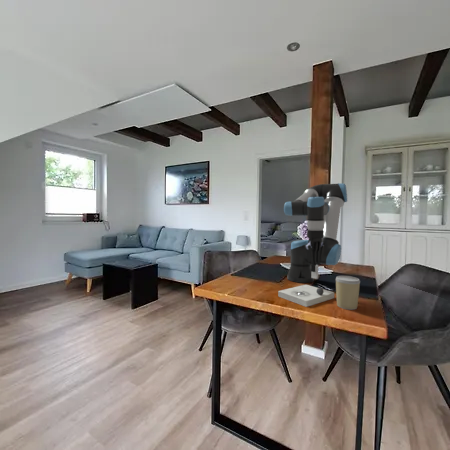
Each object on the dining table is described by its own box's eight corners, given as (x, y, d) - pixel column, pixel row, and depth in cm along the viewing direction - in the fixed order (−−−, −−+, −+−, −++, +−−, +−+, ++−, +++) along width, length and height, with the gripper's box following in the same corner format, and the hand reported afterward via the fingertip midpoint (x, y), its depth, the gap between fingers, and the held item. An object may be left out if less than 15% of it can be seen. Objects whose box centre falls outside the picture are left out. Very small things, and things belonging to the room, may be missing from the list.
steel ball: (300, 293, 119) (298, 289, 117) (306, 296, 116) (304, 292, 114) (296, 299, 117) (294, 294, 116) (302, 302, 115) (300, 297, 113)
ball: (319, 293, 117) (319, 286, 117) (324, 294, 115) (325, 288, 114) (315, 294, 115) (315, 287, 115) (320, 296, 113) (320, 289, 113)
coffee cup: (351, 302, 113) (352, 275, 112) (364, 310, 103) (365, 281, 103) (331, 302, 112) (331, 275, 112) (341, 310, 103) (342, 281, 102)
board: (305, 289, 131) (305, 284, 131) (334, 298, 118) (334, 292, 118) (278, 296, 120) (278, 291, 120) (306, 306, 107) (306, 301, 107)
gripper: (317, 228, 128) (316, 274, 130) (299, 229, 121) (299, 278, 123) (330, 229, 122) (329, 277, 124) (313, 231, 115) (312, 282, 116)
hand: (314, 278), depth 123 cm, fingers closed
